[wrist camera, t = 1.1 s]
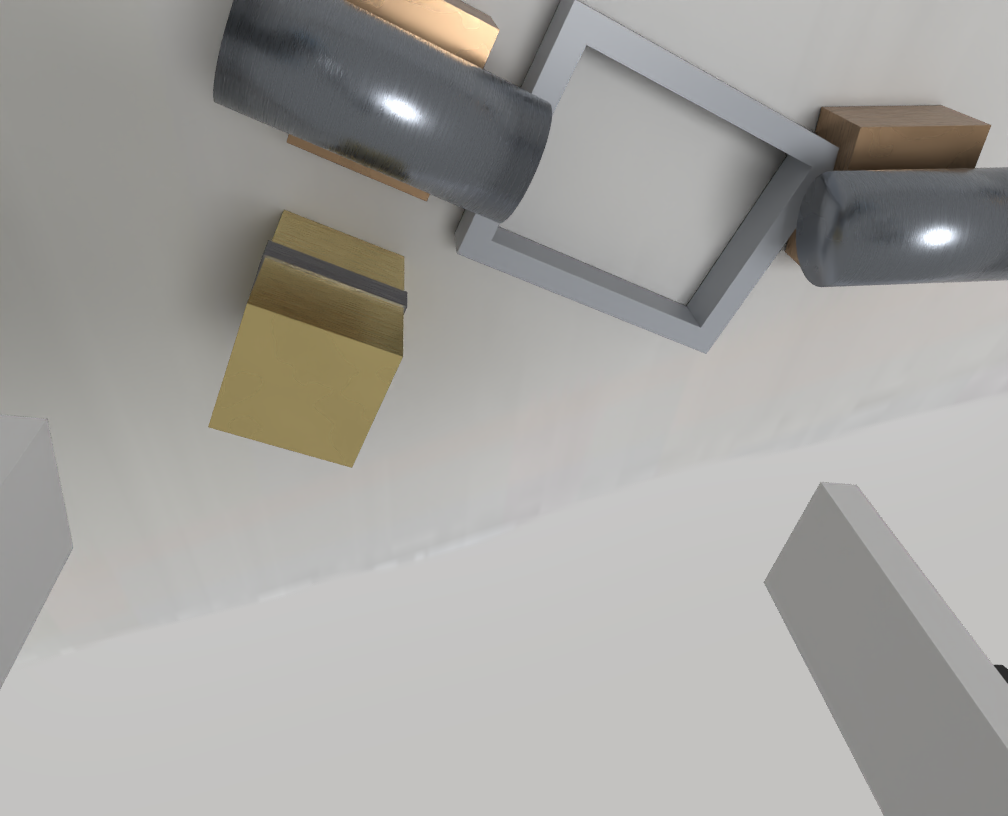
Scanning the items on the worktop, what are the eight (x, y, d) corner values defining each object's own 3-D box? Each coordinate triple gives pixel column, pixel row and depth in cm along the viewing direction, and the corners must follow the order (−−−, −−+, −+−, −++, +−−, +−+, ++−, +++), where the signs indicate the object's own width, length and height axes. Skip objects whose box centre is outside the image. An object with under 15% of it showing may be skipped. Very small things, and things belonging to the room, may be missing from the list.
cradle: (454, 233, 30) (457, 253, 28) (564, -8, 25) (575, -1, 23) (691, 331, 34) (706, 353, 32) (824, 139, 29) (849, 153, 27)
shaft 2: (752, 252, 32) (827, 331, 26) (784, 107, 28) (880, 161, 22) (924, 247, 32) (1034, 322, 27) (977, 104, 29) (1116, 156, 23)
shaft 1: (242, 95, 26) (194, 152, 20) (290, -89, 23) (251, -84, 17) (472, 195, 29) (487, 269, 23) (540, 43, 26) (578, 85, 20)
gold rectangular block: (247, 315, 31) (204, 428, 24) (282, 206, 28) (244, 299, 22) (364, 355, 32) (353, 470, 26) (407, 255, 30) (406, 355, 23)
